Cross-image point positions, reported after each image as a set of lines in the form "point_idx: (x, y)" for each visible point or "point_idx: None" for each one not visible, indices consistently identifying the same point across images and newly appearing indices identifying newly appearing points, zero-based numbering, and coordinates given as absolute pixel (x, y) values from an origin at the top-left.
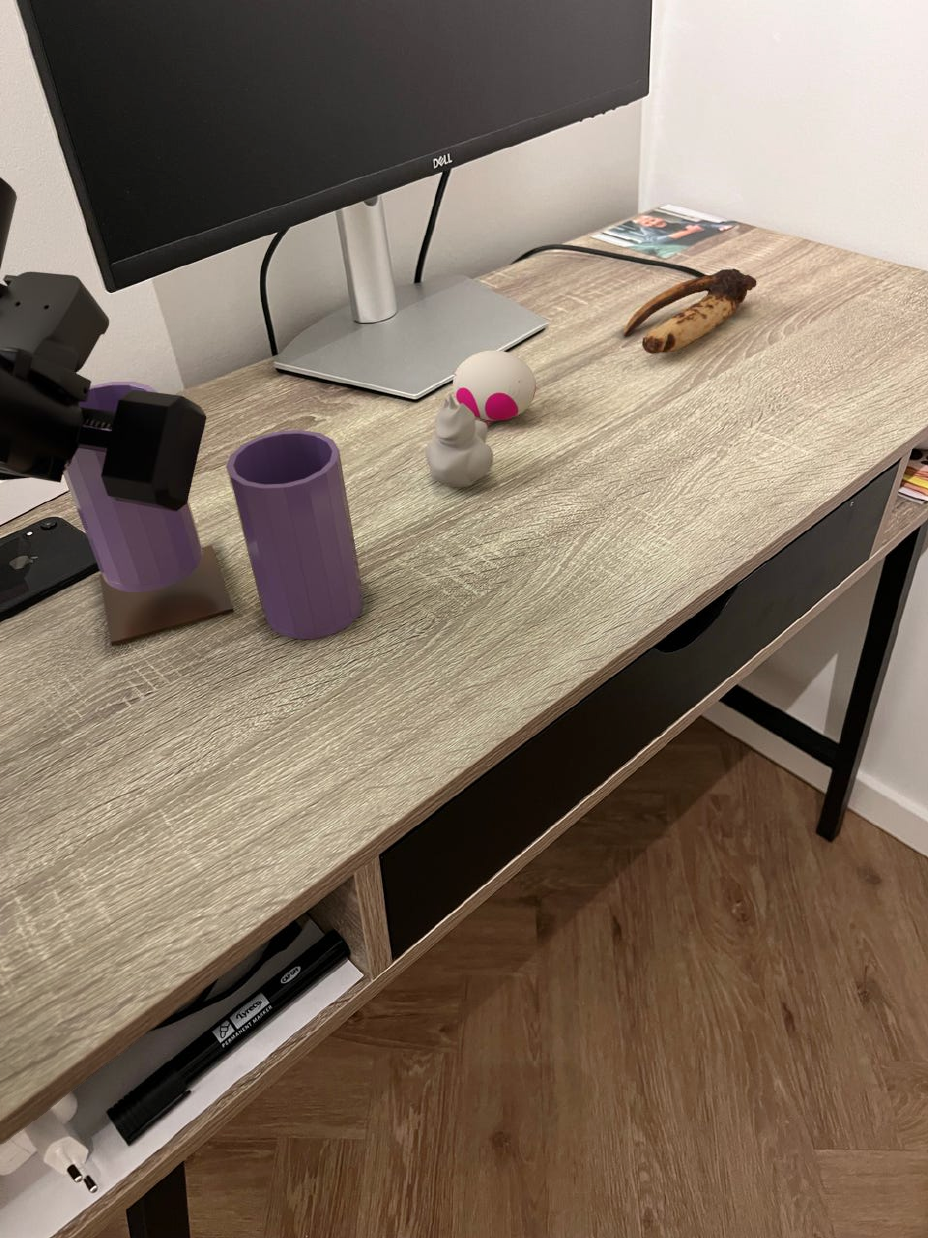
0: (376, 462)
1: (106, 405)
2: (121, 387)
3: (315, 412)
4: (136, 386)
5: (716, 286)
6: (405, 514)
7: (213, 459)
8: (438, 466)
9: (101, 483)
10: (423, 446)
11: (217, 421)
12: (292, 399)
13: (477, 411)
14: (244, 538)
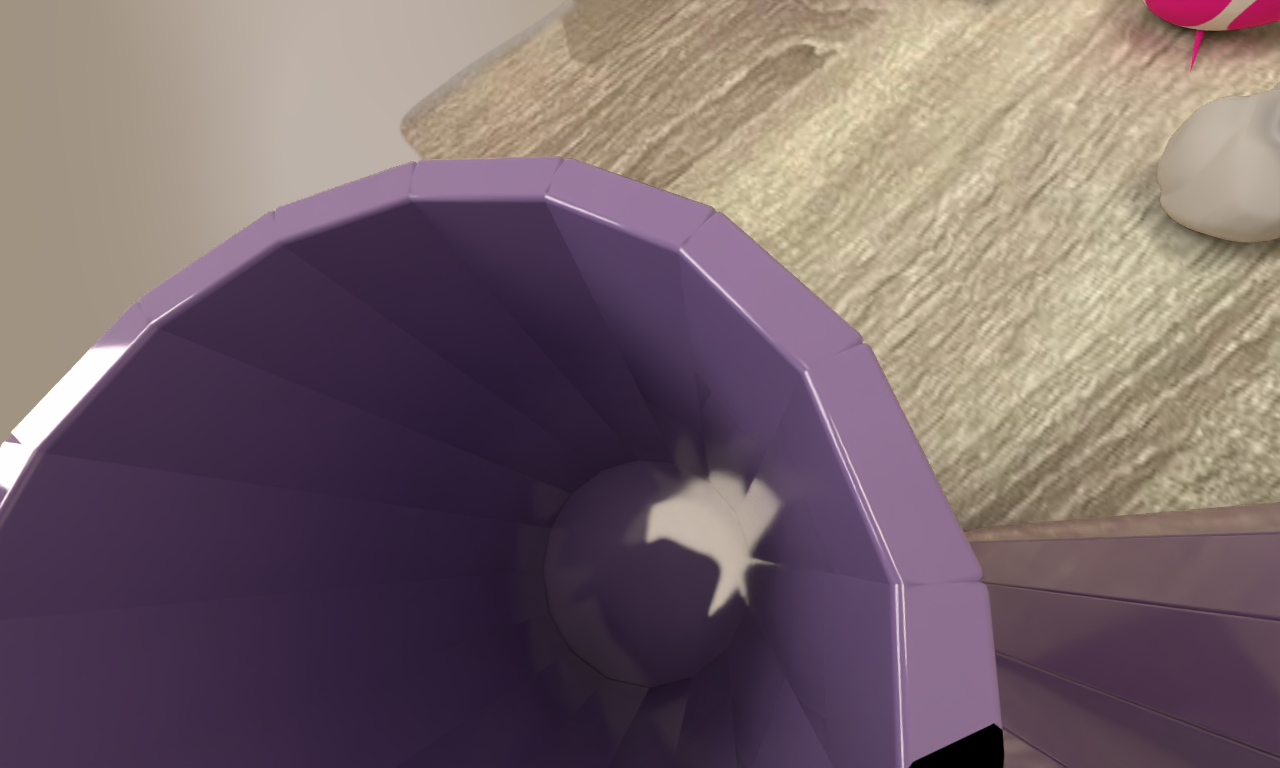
0: (981, 158)
1: (424, 308)
2: (484, 214)
3: (810, 34)
4: (609, 227)
5: None
6: (1116, 318)
7: (659, 160)
8: (1263, 209)
9: None
10: (1068, 109)
11: (643, 68)
12: (758, 7)
13: (1214, 12)
14: (1039, 762)
